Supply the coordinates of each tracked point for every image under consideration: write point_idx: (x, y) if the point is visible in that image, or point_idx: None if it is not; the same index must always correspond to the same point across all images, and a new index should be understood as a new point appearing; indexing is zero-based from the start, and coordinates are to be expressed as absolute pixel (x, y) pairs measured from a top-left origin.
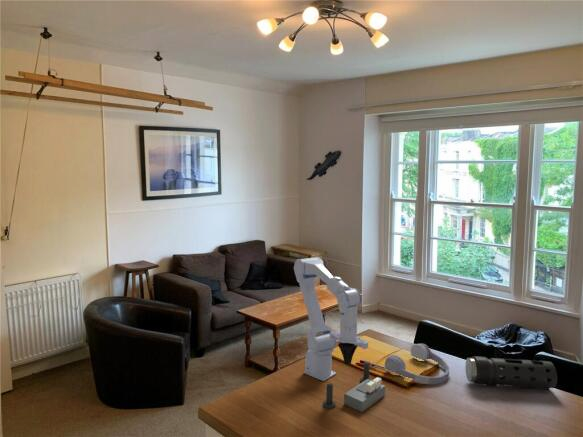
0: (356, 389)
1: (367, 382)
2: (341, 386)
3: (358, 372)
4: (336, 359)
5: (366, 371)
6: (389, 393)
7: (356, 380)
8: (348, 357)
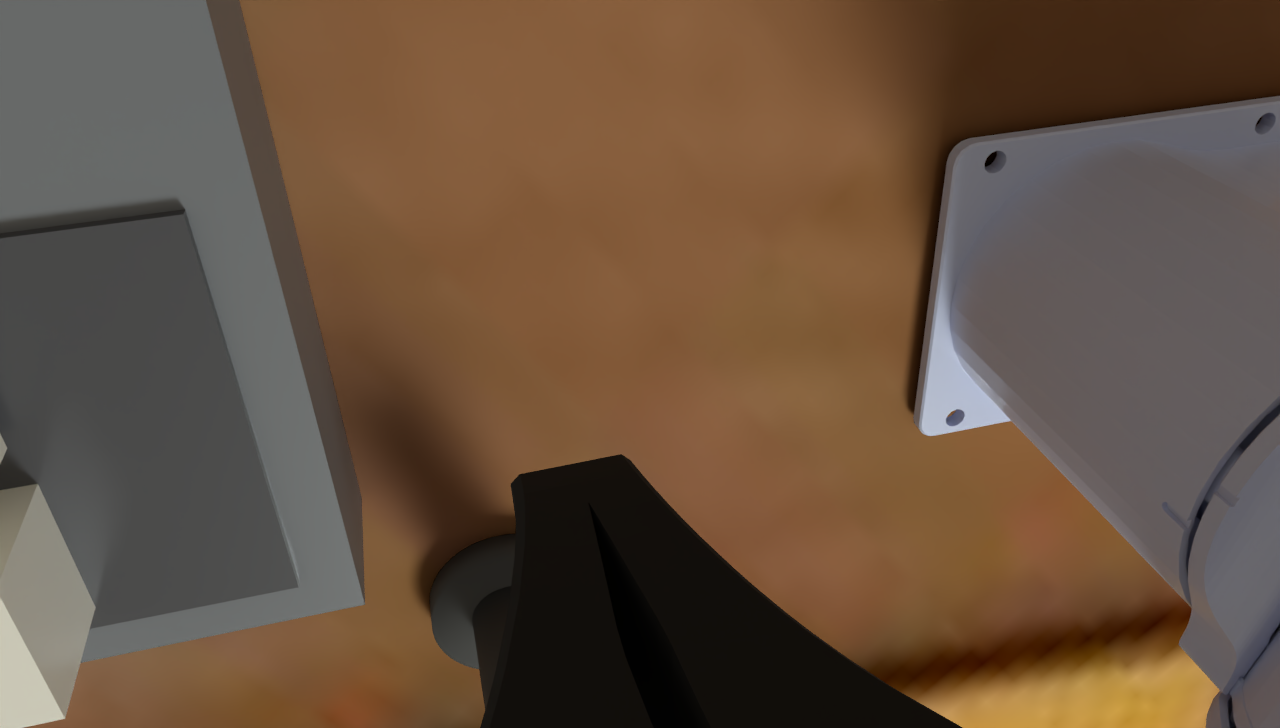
0: (166, 213)
1: (250, 530)
2: (656, 254)
3: None
4: (1084, 635)
5: None
6: None
7: None
8: (500, 650)
